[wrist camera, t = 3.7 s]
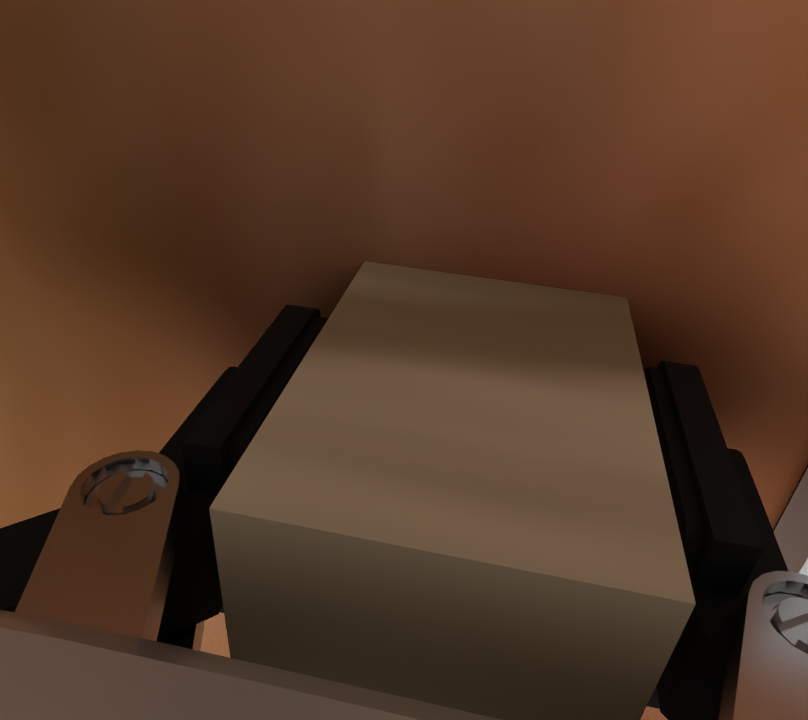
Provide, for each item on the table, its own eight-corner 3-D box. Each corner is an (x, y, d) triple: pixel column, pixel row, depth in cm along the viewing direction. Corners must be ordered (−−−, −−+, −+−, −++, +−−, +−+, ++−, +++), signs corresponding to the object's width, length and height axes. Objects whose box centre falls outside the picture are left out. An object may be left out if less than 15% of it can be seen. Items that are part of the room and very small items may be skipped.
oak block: (365, 260, 11) (209, 507, 6) (626, 296, 10) (695, 603, 5) (359, 454, 13) (243, 749, 8) (572, 492, 13) (585, 834, 8)
